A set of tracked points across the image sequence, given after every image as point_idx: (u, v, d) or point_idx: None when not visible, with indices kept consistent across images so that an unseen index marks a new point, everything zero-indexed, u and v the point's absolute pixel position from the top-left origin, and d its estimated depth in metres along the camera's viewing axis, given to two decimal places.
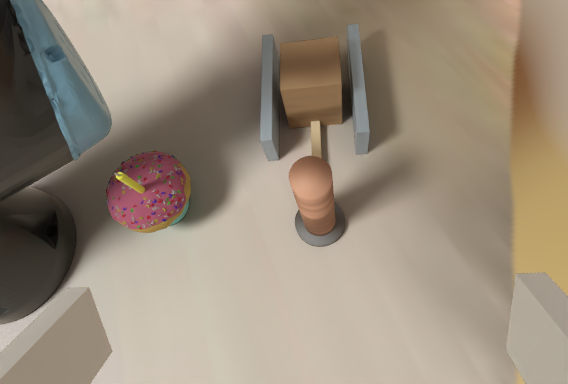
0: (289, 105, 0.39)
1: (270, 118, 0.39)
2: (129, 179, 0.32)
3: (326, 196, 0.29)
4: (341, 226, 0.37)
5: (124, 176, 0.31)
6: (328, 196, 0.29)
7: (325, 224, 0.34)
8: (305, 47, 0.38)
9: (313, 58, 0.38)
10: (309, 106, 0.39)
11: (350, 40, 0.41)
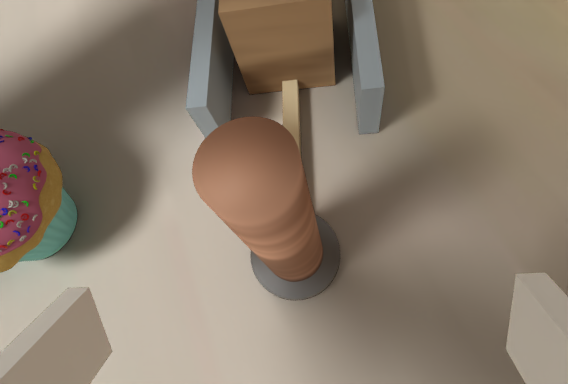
0: (241, 47, 0.22)
1: (206, 70, 0.22)
2: None
3: (290, 217, 0.12)
4: (334, 263, 0.20)
5: None
6: (296, 215, 0.12)
7: (300, 265, 0.17)
8: None
9: None
10: (275, 48, 0.22)
11: None
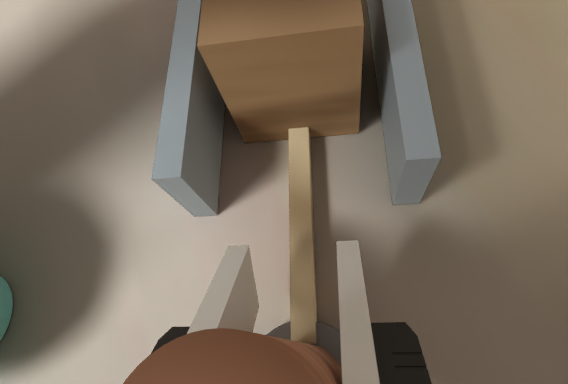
0: (232, 89, 0.16)
1: (183, 122, 0.16)
2: None
3: None
4: None
5: None
6: None
7: None
8: None
9: None
10: (280, 91, 0.16)
11: None
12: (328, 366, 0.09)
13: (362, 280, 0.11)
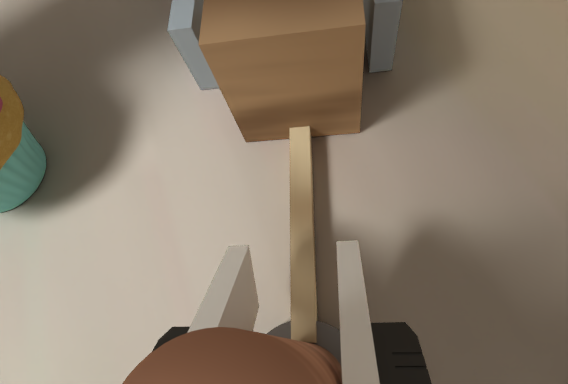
0: (233, 88, 0.16)
1: None
2: None
3: None
4: None
5: None
6: None
7: None
8: None
9: None
10: (281, 90, 0.16)
11: None
12: (328, 365, 0.09)
13: (362, 280, 0.11)
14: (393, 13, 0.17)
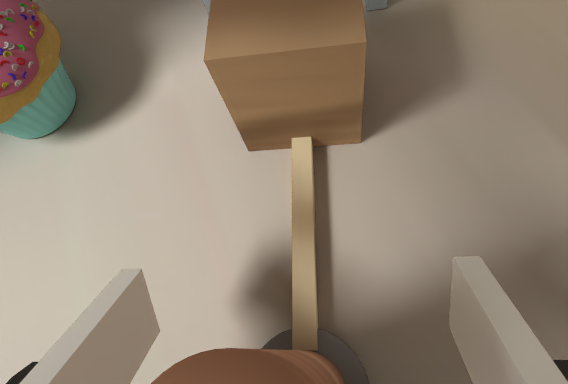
0: (237, 100, 0.16)
1: None
2: None
3: None
4: None
5: None
6: None
7: None
8: None
9: None
10: (284, 103, 0.16)
11: None
12: (329, 378, 0.09)
13: (513, 306, 0.09)
14: None
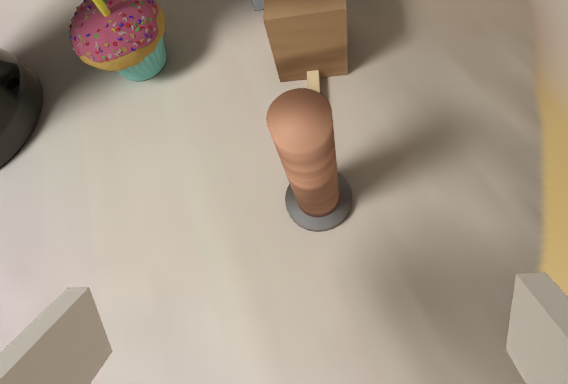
0: (277, 45, 0.30)
1: None
2: None
3: (324, 150, 0.19)
4: (347, 204, 0.28)
5: None
6: (327, 150, 0.19)
7: (325, 198, 0.24)
8: None
9: None
10: (303, 46, 0.30)
11: None
12: None
13: None
14: None
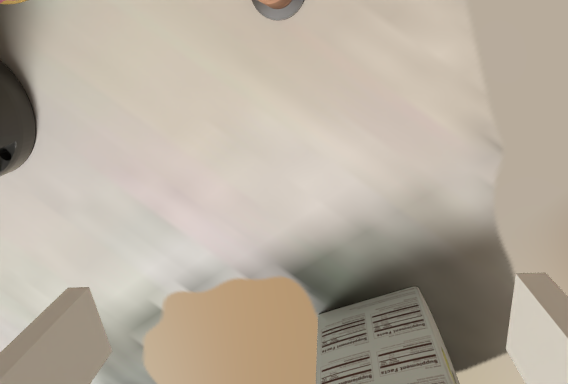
0: None
1: None
2: None
3: None
4: None
5: None
6: None
7: None
8: None
9: None
10: None
11: None
12: None
13: None
14: None
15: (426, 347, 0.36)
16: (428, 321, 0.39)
